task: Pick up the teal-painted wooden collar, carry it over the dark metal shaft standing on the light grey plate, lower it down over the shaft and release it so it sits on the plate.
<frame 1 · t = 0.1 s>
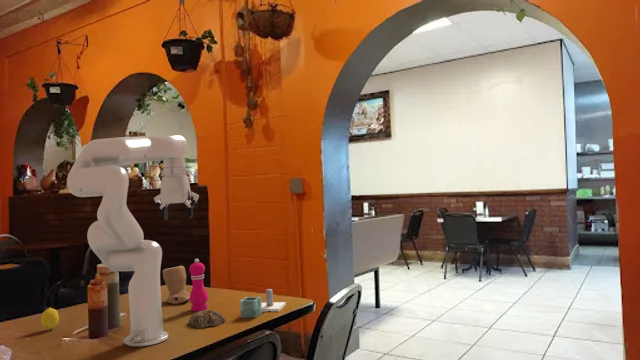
hand: (177, 219, 173), 37 cm above the table, tool pointing down, fingers open, 9 cm apart
collar: (251, 315, 172), on the table
lemon: (50, 330, 169), on the table
beige hollow piece: (177, 301, 204), on the table
shaft base: (270, 308, 181), on the table
pepper mill: (199, 309, 186), on the table
bread roll: (208, 324, 166), on the table
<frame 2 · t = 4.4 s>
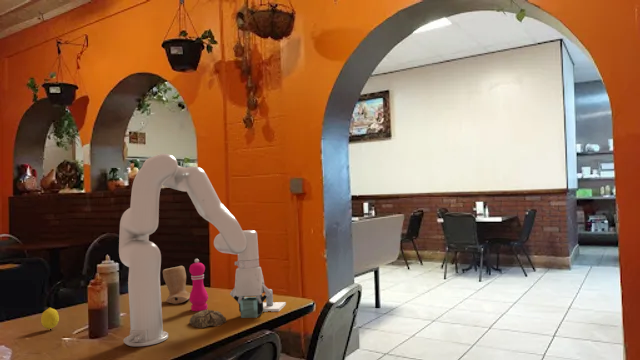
hand: (251, 313, 172), 1 cm above the table, tool pointing down, fingers closed on collar, 6 cm apart
collar: (251, 315, 172), on the table, touching gripper
everything else where it was.
when the fingers open (3 cm above the table, at t = 9.8 s): collar drops 2 cm, resting on shaft base.
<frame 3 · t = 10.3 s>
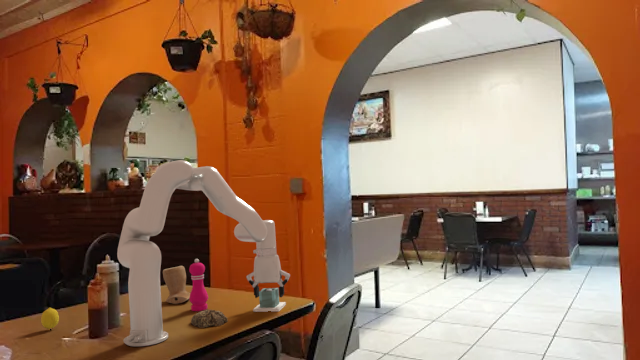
hand: (269, 296, 181), 4 cm above the table, tool pointing down, fingers open, 9 cm apart
collar: (269, 305, 181), point 1 cm above the table, touching shaft base
everything else where it was.
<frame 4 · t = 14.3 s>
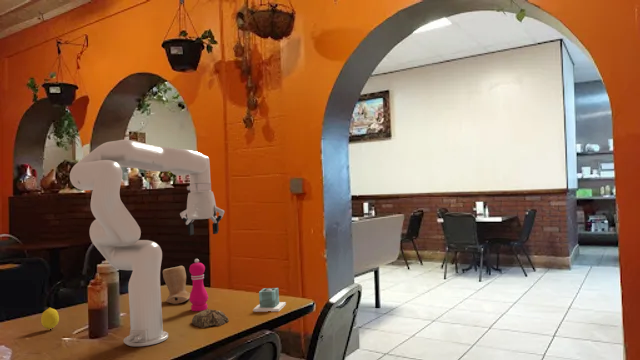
hand: (203, 234, 176), 30 cm above the table, tool pointing down, fingers open, 9 cm apart
at the end: collar 0.0 cm off-centre on the shaft base, point 1.0 cm above the shaft base's base; the gripper is holding nothing; collar tilted 0° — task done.
